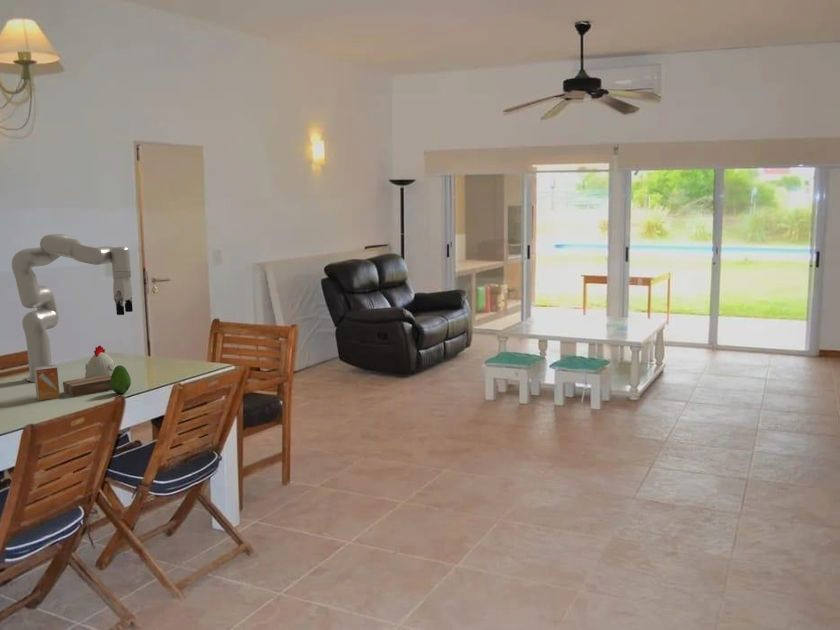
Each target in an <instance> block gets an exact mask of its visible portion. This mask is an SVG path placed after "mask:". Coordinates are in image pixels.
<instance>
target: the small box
mask: <svg viewBox="0 0 840 630" xmlns="http://www.w3.org/2000/svg"><path fill="white" fill-rule="evenodd" d="M34 374H35V382H34V385H35V393H36V399H37V398H38V399H37V400H38V401H45V399H46V400H53V398H54V399H60V398H61V397H60V394H61V393H60V383H59V372H58V367H57V366H56V364H52V365H51V366H42V367H34Z"/></svg>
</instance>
